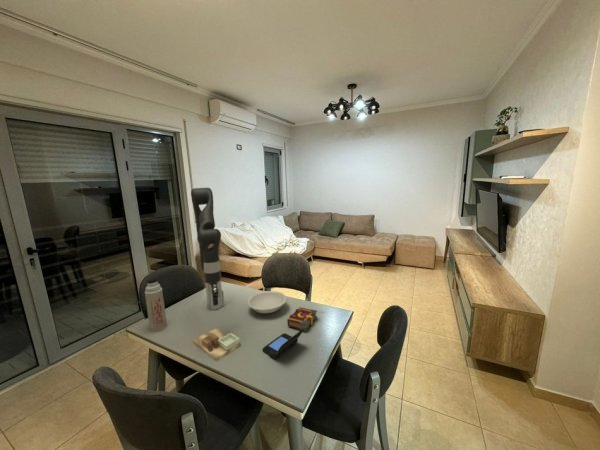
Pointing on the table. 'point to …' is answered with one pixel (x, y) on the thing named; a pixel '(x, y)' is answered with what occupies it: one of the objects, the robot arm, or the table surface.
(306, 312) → the decorative book
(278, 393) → the table surface
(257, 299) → the soup bowl
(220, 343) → the tray
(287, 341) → the game console
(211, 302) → the dowel
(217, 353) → the board
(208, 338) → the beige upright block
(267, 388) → the table surface
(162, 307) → the thermos bottle
